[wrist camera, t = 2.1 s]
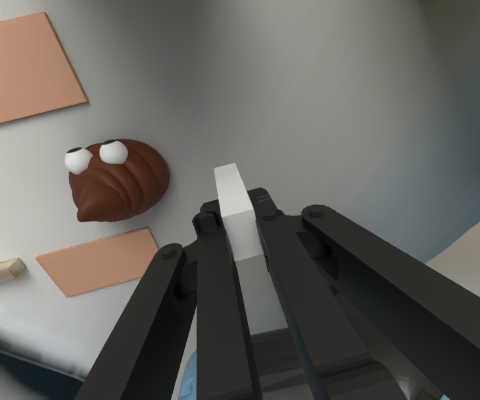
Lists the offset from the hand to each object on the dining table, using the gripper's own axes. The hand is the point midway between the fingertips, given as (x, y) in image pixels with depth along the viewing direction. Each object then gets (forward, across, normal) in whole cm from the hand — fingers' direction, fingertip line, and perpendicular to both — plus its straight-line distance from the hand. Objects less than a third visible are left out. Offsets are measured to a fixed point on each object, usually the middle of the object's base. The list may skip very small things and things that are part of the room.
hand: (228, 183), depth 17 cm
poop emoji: (+12, +11, +1) cm, 16 cm away
